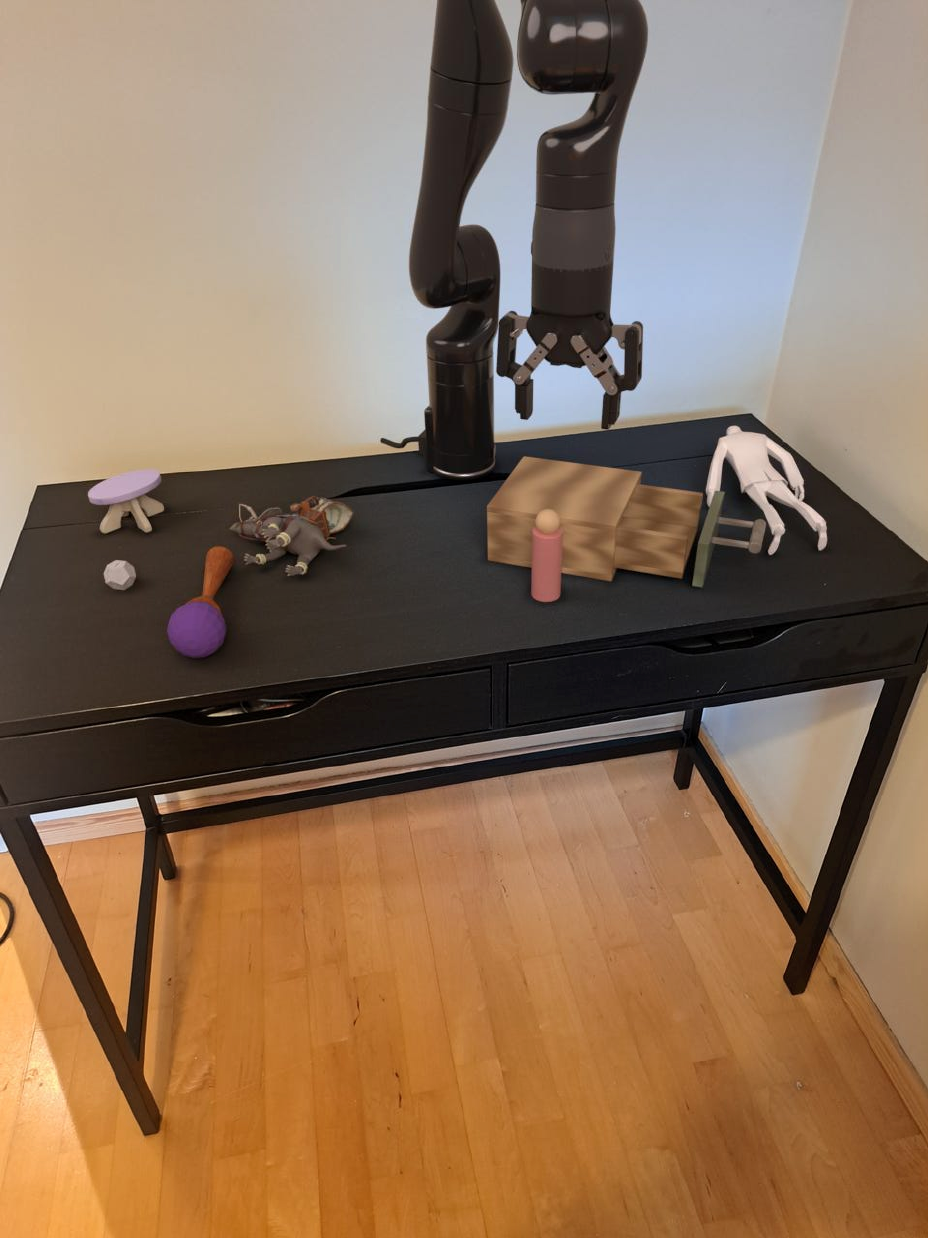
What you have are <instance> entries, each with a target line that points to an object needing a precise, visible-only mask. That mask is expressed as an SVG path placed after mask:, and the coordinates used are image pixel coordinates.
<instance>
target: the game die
mask: <svg viewBox="0 0 928 1238" xmlns="http://www.w3.org/2000/svg"><path fill="white" fill-rule="evenodd" d="M103 577H104V582H105V584H106V585H107V586H109V587H110V588H111V589H113V590H117V591H119V590H120V591H125V590H127V589H129V588H130V587H132V586H133V585H134V583H135V580H136V578H137V573H136V570H135V567H134V566H133V565H132V564H131V563H129V562H128V561H127V560H120V559H119V560H118V559H115V560H113V561H112V562H110V563H108V564H106V567H105V569H104V572H103Z"/></svg>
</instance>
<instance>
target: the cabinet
mask: <svg viewBox="0 0 928 1238" xmlns="http://www.w3.org/2000/svg"><path fill="white" fill-rule="evenodd" d="M642 472H643V471H638V470H631V469H623V468H617V467H616V468H615V467H608V466H600V465H592V464H585V463H578V462H571V461H563V460H554V459H547V458H539V457H533V456H523V457H522V458H521V459H520V460H519V462H518V463H517V465H516V466H515V468H514V469H513V471H512V472H511V473H510V474H509V476H507V478H506V480H505V481H504V482H503V484H502V485H501V487H500V488H499V489H498V490H497V492H496V493H495V495H494V496H493V497H492V499H490V501H489V503H487V505H486V520H487V521H486V523H487V525H486V526H487V533H486V534H487V561H490V562H496V563H502V564H506V565H513V566H519V567H524V568H530V569H532V530H533V528H534V527H535V526H536V524H535V520H536V517H537V515H538V513H539V512H541V511H542V510H545V509H551V510H554V511H555V512H557V513H558V515H559V516H560V520H561V523H560V527H561V528H562V530H563V544H562V569H561V574H565V575H571V576H577V577H582V578H588V579H593V580H594V579H595V580H600V581H606V582H612V581H613V579H614V577H615V574H616V572H617V571H618V568H615V567H614V558H615V545H616V533H617V527H618V525H619V523H620V521H621V519H622V517H623V514H624V512H625V510H626V508H627V506H628V504H629V502H630V500H631V498H632V495H633V493H634V491H635V489H636V487H637V485H638V484H641V482H642ZM641 485H642V484H641Z"/></svg>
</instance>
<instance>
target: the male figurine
mask: <svg viewBox="0 0 928 1238" xmlns="http://www.w3.org/2000/svg"><path fill="white" fill-rule="evenodd" d="M769 456H771V457H772V458H773V459H775V460H777V461H778V462H779V463H780V464H781V467H782V469H783V472H784V474H785V477H786V479H785V478H784V477H783V476H782V475H781V473H780V472H779V471H777V470H776V469H775V468H774V467H773V465H772V463H771V462H770V459H769ZM724 460H726V461H727V462H728V463H729V465H730V466H731V467H732V469H733V471H734V472H735V474H736V476H737V478H738V481H739V483H740V492H741V494H744V493H746V494H747V495H748V497H749V498H750V500H752V501H753V502H754V503H755V504H756V505H757V506H758V507H759V509H760V510H762V511H763V513H764V516H765V519H766V521H767V523H768V526H769V529H770V532H771V535H773V539H772V541H771V542H770V545H769V547H768V550H767V553H768V555H769V556H771V555H773V554H774V553H776V551H777V550H778V548H779V545H780V543H781V537H782V535H784V534H785V532H786V528H785V523H784V522H783V520H782V518H781V517H780V515H779V513H778V511H777V510H776V509H775V507H774V506H773V505H772V504H770V503H769V501H768V498H770V499H771V500H772V501H775V502H777V503H779V504H781V505H784V506H787V507H788V508H792V509H795V511H797V512H798V513H799V514H800V515H801V516H802V517H803V519H805V521H806V522H807V523H808V524H809V526H810V527H811V528H812V530H813V531H814V532H817V533H818V541H817V549H818V551H823V550H824V549H825V548H826V546H827V544H828V534H827V530H828V528H827V525H826V524H827V521H826V520H825V519H824V517H822V515H820V514H819V513H818V512H817V511H816V510H815V509H813V508H812V507H811V506H810V505H809V504H807V503H805V502H804V501H803V500H804V499H805V487H804V485H805V483H804V482H805V480H804V478H803V475H802V474H801V472H800V470H799V467H798V466H797V464H796V462H795V459H794V457H793V456H792V454H791V453H790V452H789V451H787V450H786V449H784V448H783V447H782V446H781V445H779V444H778V443H776V442H775V441H773V440H772V439H771V438H769V437H768V436H767V435H766V434H763V433H758V432H752V431H742V429H741V427H740V426H738V425H731V426H729V427H727V429H726V432H725V436H721V437H719V438H718V441H717V446H716V448H715V450H714V453H713V456H712V460H711V463H710V466H709V472H708V476H707V481H706V486H705V494H706V496H707V498H706V504H707V507H708V508H709V507H710V504H711V501H712V498H713V495H714V492H715V491H721V483H722V475H723V474H722V473H723V463H724ZM788 485H789V487H790V488H789V487H788ZM790 489H791V490H792V491H794V493H793V492H792V491H791V490H790ZM767 497H768V498H767Z"/></svg>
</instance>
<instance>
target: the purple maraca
mask: <svg viewBox="0 0 928 1238" xmlns="http://www.w3.org/2000/svg"><path fill="white" fill-rule="evenodd" d="M234 561H235V558H234V554H233V553H232V551H231V550H230V549H228V548H227V547H225V546H213V547H211V548H210V549H209V550H208V551H207V553H206V556H205V566H204V576H203V585H202V595H200V596H197V597H194V598H192V599H190V600H188V601H187V602H186V603H185V604H183V605H181V606H179V607H177V608H176V609H175V610H174V612H172V614H171V616H170V618H169V621H168V625H167V629H166V631H167V636H168V640H169V642H170V645H172V647H173V648H174V650H175V651H176V652H177V653H179V654H181V655H183V656H184V657H187V658H192V659H200V658H202V659H203V658H205V657H208V656H210V655H213V653H216V652H217V651H218V650H219V649H220V647H221V646H222V645H223V644H224V640H225V637H226V633H227V625H226V620H225V619H224V617H223V614H222V611H221V608H220V607H219V606H218V604H217V603H216V601H215V600H214V598H215V596H216V594H217V593H218V591H219V589H220V587H221V586H222V584H223V582H224V580H225V579H226V577H227V576H228V573H229V572H230V570H231V568H232V567H233V565H234Z"/></svg>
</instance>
